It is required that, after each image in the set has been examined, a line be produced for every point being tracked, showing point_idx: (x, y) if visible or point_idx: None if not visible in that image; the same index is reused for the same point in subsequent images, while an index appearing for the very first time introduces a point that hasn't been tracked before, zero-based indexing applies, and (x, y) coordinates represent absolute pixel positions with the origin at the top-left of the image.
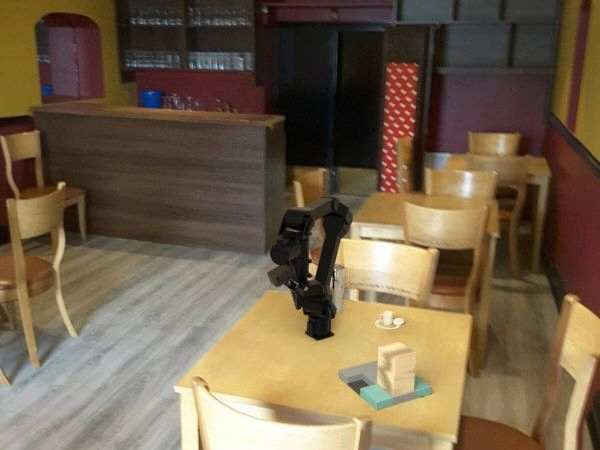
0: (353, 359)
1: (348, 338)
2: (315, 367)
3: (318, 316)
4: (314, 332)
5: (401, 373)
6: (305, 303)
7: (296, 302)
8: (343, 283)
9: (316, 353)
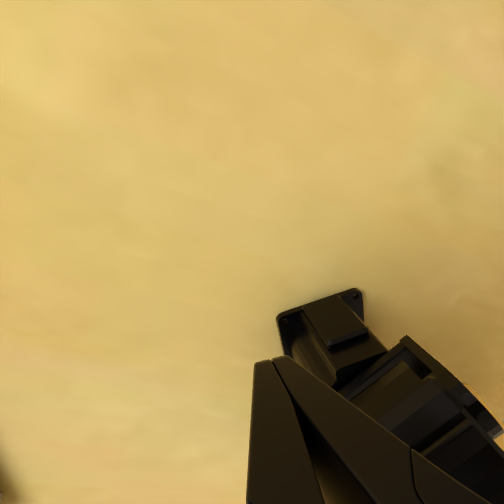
0: (71, 399)
1: (250, 411)
2: (19, 241)
3: (343, 394)
4: (307, 325)
5: None
6: (423, 405)
7: (261, 449)
8: None
9: (168, 283)
